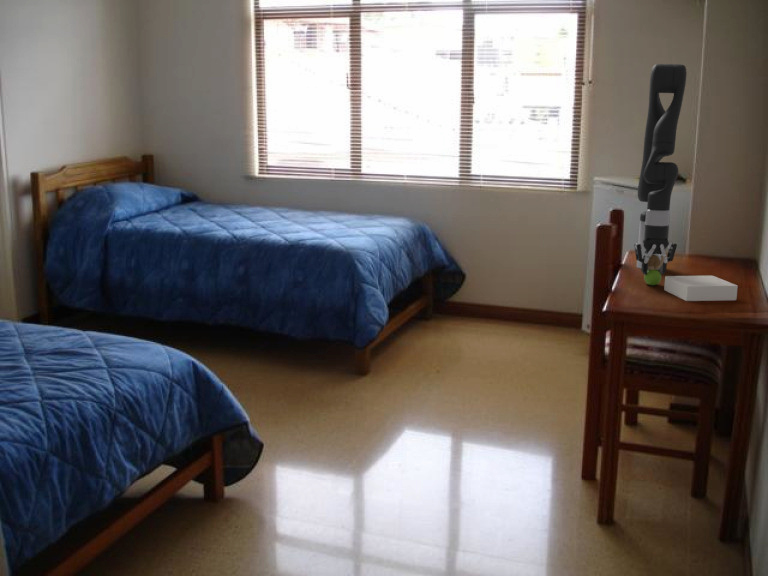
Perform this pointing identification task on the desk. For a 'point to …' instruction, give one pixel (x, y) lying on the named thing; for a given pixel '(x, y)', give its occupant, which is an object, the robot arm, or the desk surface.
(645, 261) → the robot arm
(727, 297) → the cream block
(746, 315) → the desk surface
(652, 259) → the snail figurine
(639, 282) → the desk surface
